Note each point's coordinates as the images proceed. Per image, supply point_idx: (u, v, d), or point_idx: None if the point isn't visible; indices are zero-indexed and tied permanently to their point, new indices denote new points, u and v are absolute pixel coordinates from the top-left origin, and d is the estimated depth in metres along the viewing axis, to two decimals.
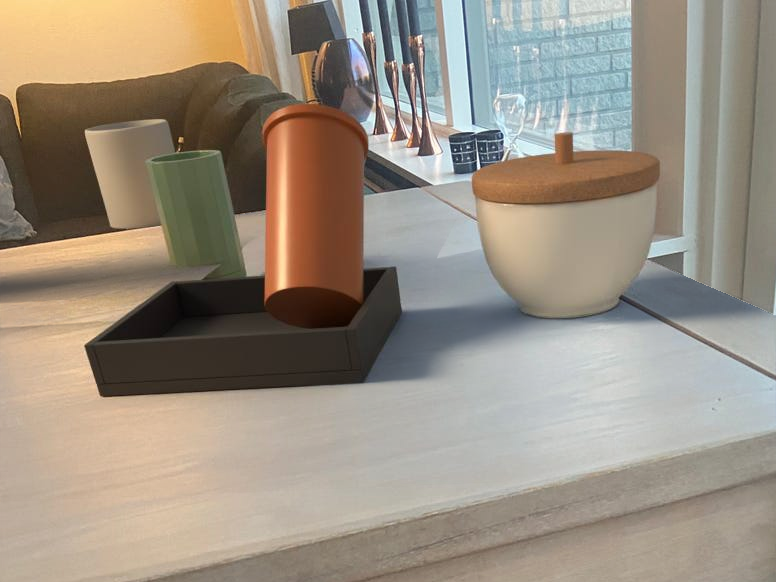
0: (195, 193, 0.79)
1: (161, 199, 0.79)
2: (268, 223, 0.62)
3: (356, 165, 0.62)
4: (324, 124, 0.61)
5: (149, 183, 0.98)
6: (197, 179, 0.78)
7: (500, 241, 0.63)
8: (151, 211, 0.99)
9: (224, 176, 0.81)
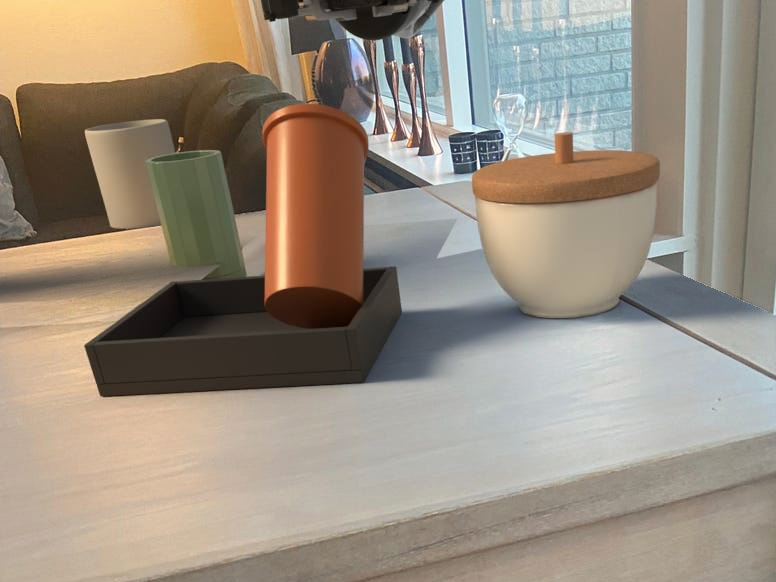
0: (195, 193, 0.79)
1: (161, 199, 0.79)
2: (268, 223, 0.62)
3: (356, 165, 0.62)
4: (324, 124, 0.61)
5: (149, 183, 0.98)
6: (197, 179, 0.78)
7: (500, 241, 0.63)
8: (151, 211, 0.99)
9: (224, 176, 0.81)
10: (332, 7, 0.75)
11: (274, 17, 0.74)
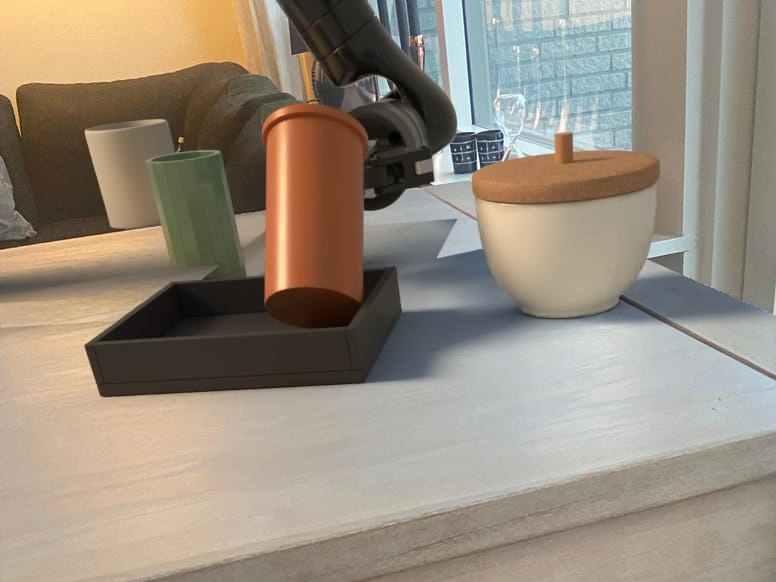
0: (195, 193, 0.79)
1: (161, 199, 0.79)
2: (268, 223, 0.62)
3: (356, 165, 0.62)
4: (324, 124, 0.61)
5: (149, 183, 0.98)
6: (197, 179, 0.78)
7: (500, 241, 0.63)
8: (151, 211, 0.99)
9: (224, 176, 0.81)
10: None
11: None
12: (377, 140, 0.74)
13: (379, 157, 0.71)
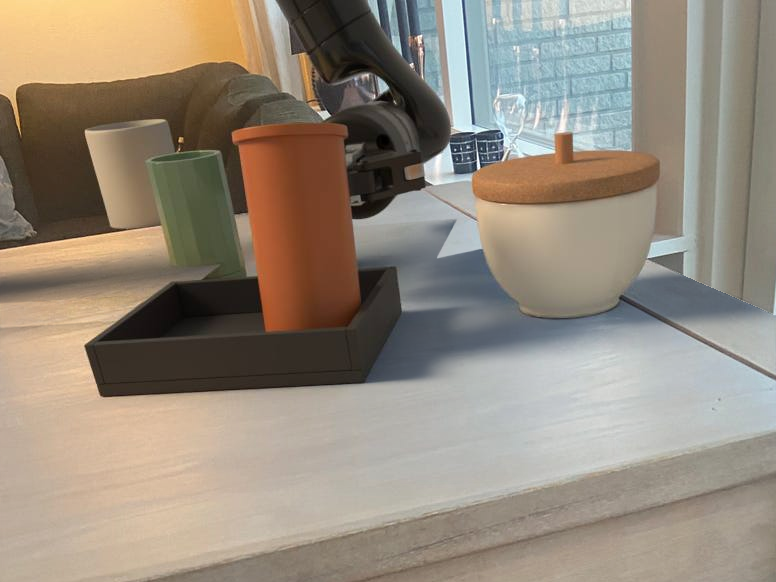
0: (195, 193, 0.79)
1: (161, 199, 0.79)
2: (258, 256, 0.60)
3: (340, 176, 0.58)
4: (302, 144, 0.56)
5: (149, 183, 0.98)
6: (197, 179, 0.78)
7: (500, 241, 0.63)
8: (151, 211, 0.99)
9: (224, 176, 0.81)
10: None
11: None
12: (364, 144, 0.70)
13: (365, 161, 0.66)
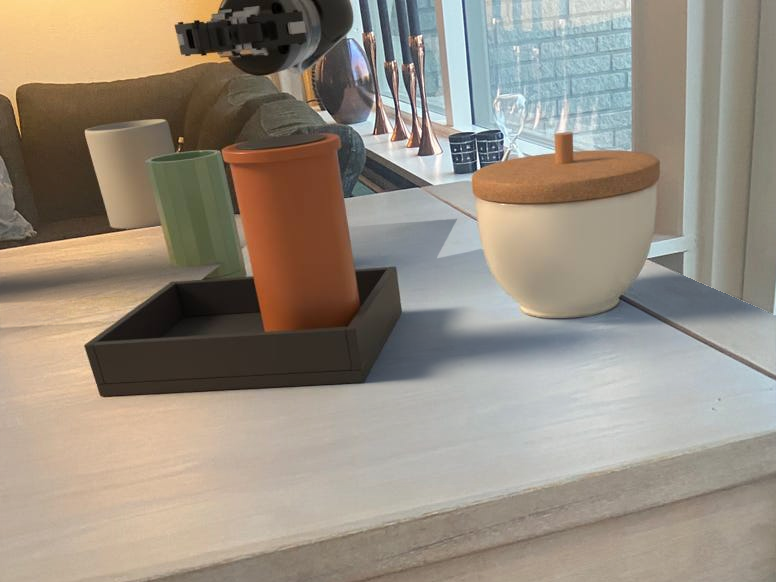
0: (195, 193, 0.79)
1: (161, 199, 0.79)
2: (256, 275, 0.59)
3: (335, 192, 0.57)
4: (295, 168, 0.55)
5: (149, 183, 0.98)
6: (197, 179, 0.78)
7: (500, 241, 0.63)
8: (151, 211, 0.99)
9: (224, 176, 0.81)
10: None
11: None
12: (258, 7, 0.88)
13: (254, 15, 0.85)
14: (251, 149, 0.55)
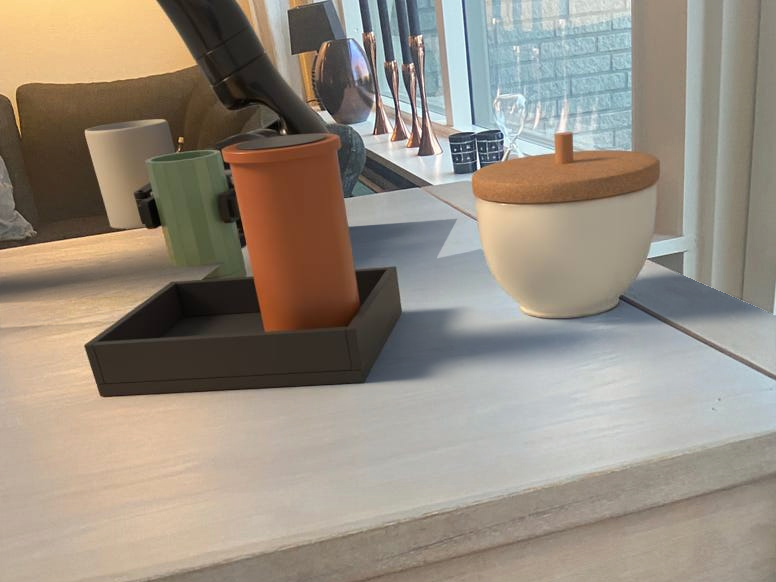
0: (194, 193, 0.79)
1: (161, 199, 0.79)
2: (256, 275, 0.59)
3: (335, 192, 0.57)
4: (295, 168, 0.55)
5: None
6: (197, 179, 0.78)
7: (500, 241, 0.63)
8: None
9: (224, 176, 0.81)
10: None
11: None
12: None
13: None
14: (251, 149, 0.55)
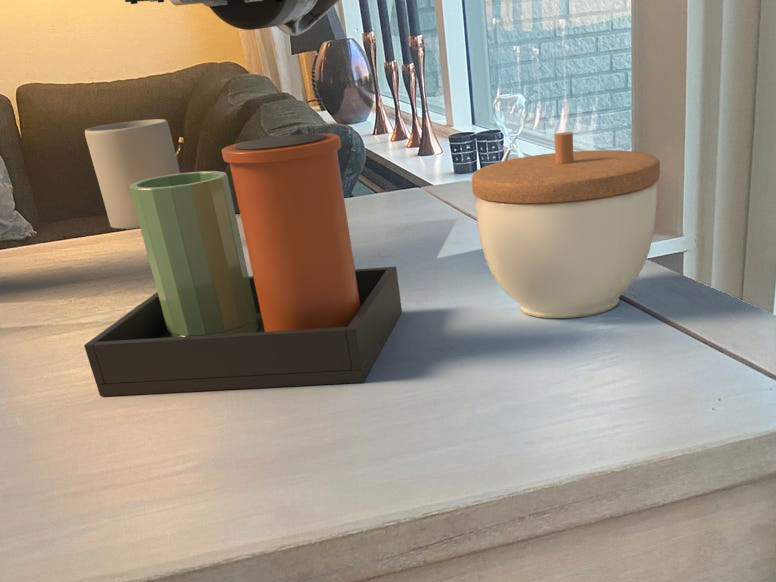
0: (194, 228, 0.61)
1: (150, 235, 0.62)
2: (256, 275, 0.59)
3: (335, 192, 0.57)
4: (295, 168, 0.55)
5: None
6: (196, 210, 0.61)
7: (500, 241, 0.63)
8: None
9: (231, 205, 0.63)
10: None
11: None
12: None
13: None
14: (251, 149, 0.55)
